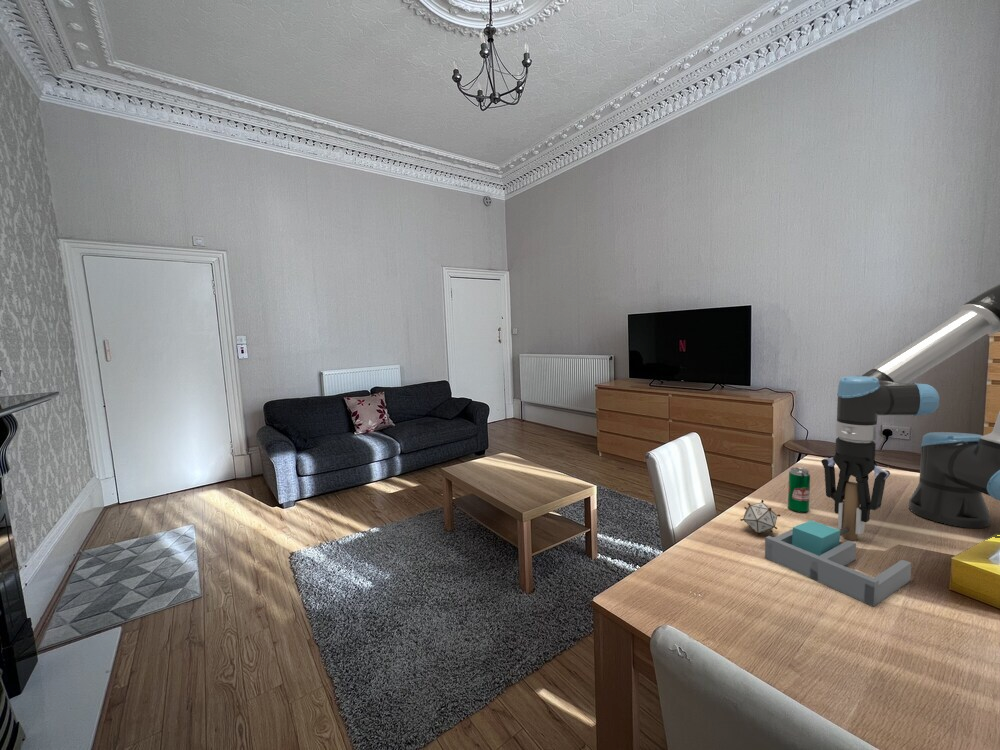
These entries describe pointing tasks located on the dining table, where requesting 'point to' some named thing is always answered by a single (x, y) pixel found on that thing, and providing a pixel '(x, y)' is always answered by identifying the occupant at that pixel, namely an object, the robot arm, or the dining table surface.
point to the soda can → (799, 489)
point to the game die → (760, 517)
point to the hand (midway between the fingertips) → (850, 529)
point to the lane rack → (837, 569)
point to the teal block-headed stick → (825, 537)
